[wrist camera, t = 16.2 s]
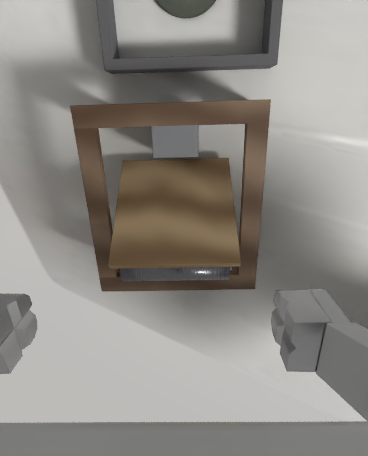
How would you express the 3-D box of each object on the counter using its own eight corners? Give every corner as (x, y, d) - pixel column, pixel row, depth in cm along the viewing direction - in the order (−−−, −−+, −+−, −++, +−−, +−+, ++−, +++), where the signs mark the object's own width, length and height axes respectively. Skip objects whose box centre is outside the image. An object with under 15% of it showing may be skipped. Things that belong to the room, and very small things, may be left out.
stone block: (198, 156, 31) (198, 107, 29) (153, 157, 31) (150, 108, 29) (197, 150, 36) (196, 107, 34) (157, 151, 36) (155, 109, 34)
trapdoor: (237, 283, 30) (241, 270, 27) (115, 285, 30) (107, 273, 27) (225, 176, 37) (228, 158, 34) (128, 179, 38) (123, 160, 35)
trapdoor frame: (242, 255, 41) (254, 289, 34) (117, 257, 42) (101, 291, 34) (251, 101, 33) (270, 99, 25) (97, 106, 34) (70, 105, 26)
